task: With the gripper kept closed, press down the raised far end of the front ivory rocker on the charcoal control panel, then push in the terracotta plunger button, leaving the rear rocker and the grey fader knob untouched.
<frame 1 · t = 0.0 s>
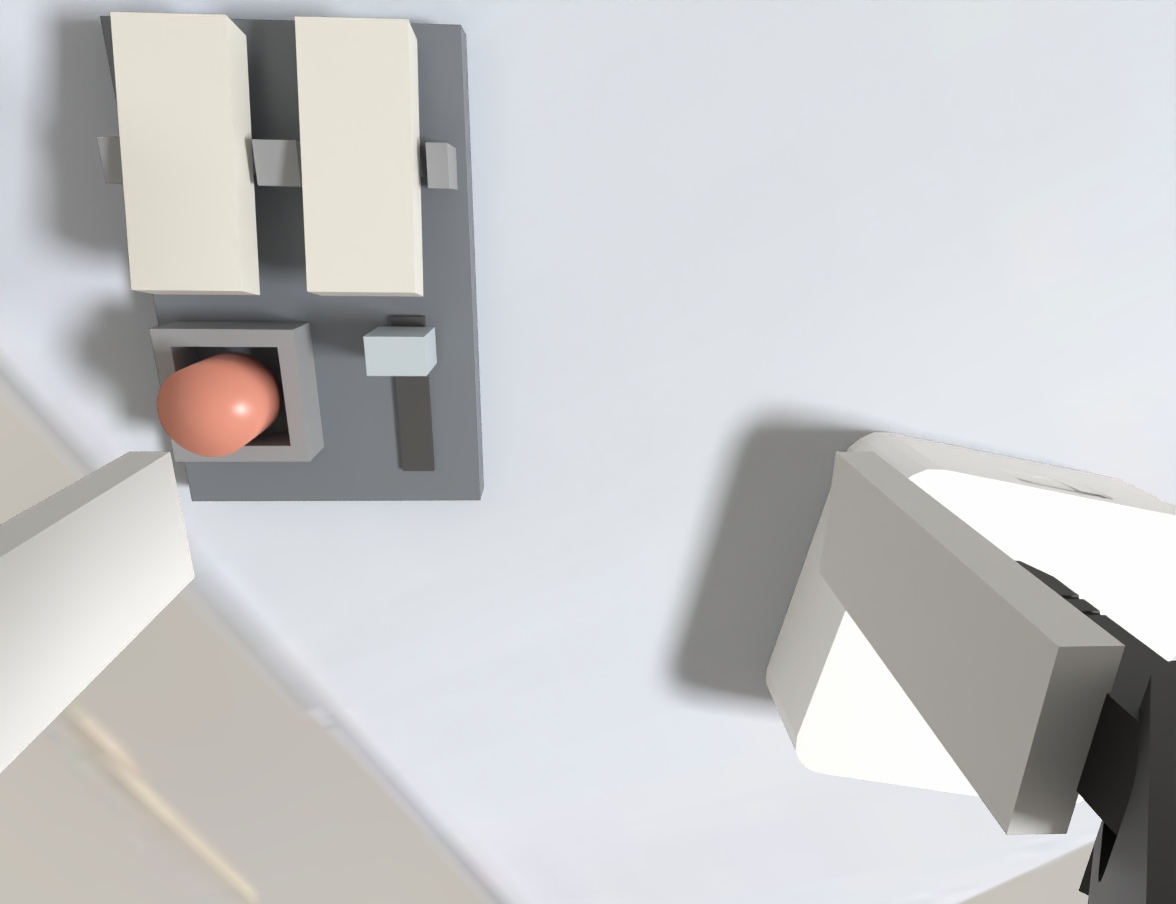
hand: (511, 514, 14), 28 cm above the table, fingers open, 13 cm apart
fader: (402, 350, 37), point 4 cm above the table, slide at 0.0 cm
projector: (944, 591, 48), on the table
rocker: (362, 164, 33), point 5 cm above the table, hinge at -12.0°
panel: (324, 283, 39), on the table
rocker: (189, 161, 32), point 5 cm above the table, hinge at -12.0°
button: (222, 403, 36), point 6 cm above the table, slide at 0.0 cm
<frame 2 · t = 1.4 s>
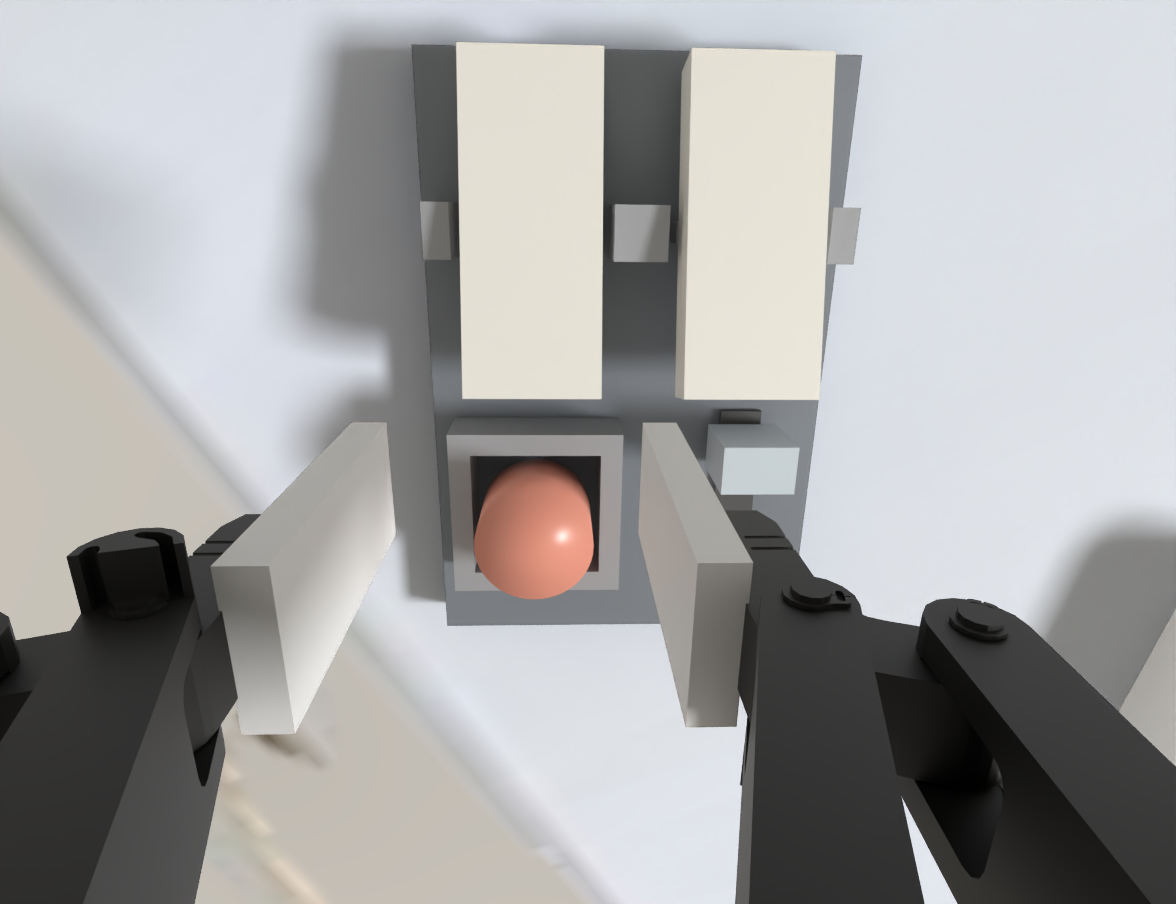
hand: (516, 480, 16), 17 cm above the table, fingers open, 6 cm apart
fader: (749, 457, 29), point 4 cm above the table, slide at 0.0 cm
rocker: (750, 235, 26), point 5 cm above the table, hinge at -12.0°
panel: (624, 366, 32), on the table
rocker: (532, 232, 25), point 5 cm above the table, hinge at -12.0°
button: (535, 527, 28), point 6 cm above the table, slide at 0.0 cm
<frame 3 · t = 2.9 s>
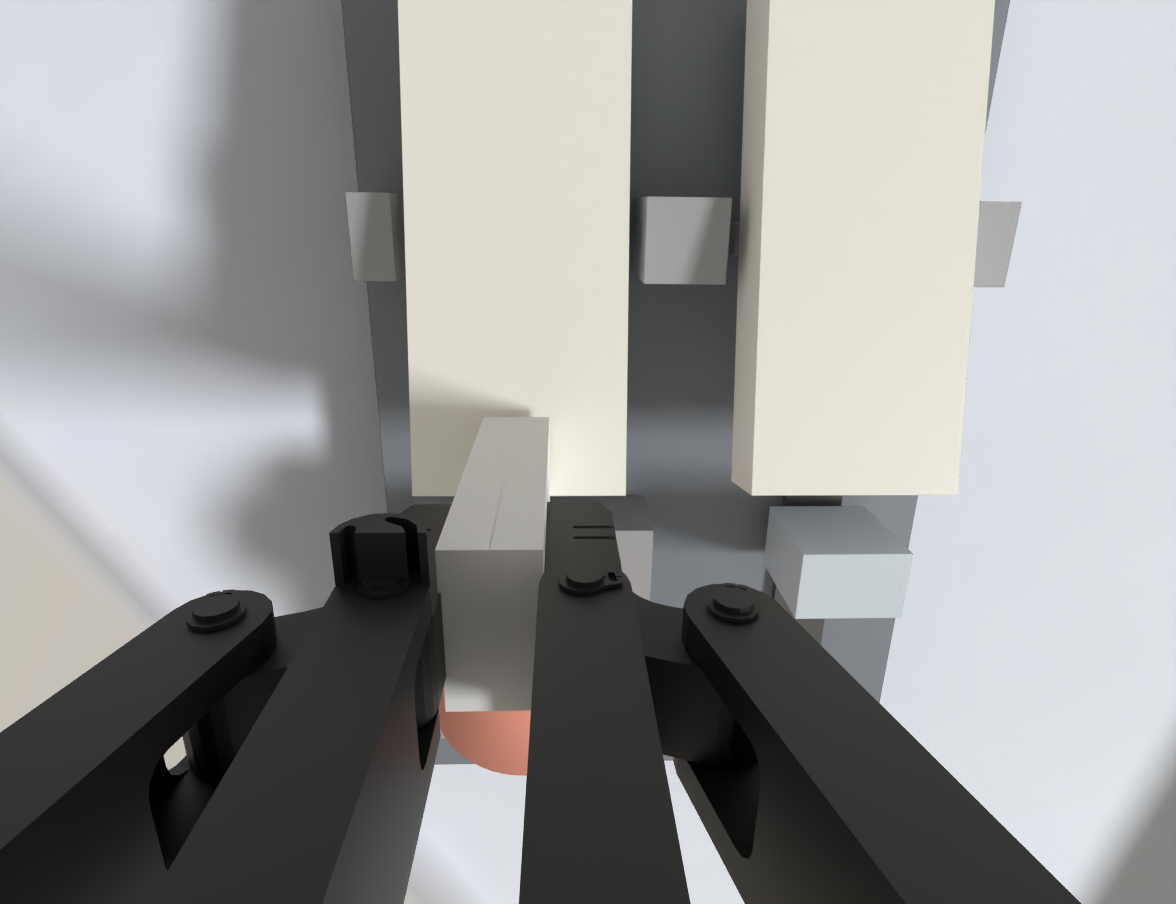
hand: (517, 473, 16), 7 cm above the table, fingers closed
fader: (831, 559, 21), point 4 cm above the table, slide at 0.0 cm
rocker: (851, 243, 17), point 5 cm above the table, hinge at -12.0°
panel: (650, 420, 23), on the table
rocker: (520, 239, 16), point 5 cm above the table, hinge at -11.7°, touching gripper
button: (526, 662, 20), point 6 cm above the table, slide at 0.0 cm
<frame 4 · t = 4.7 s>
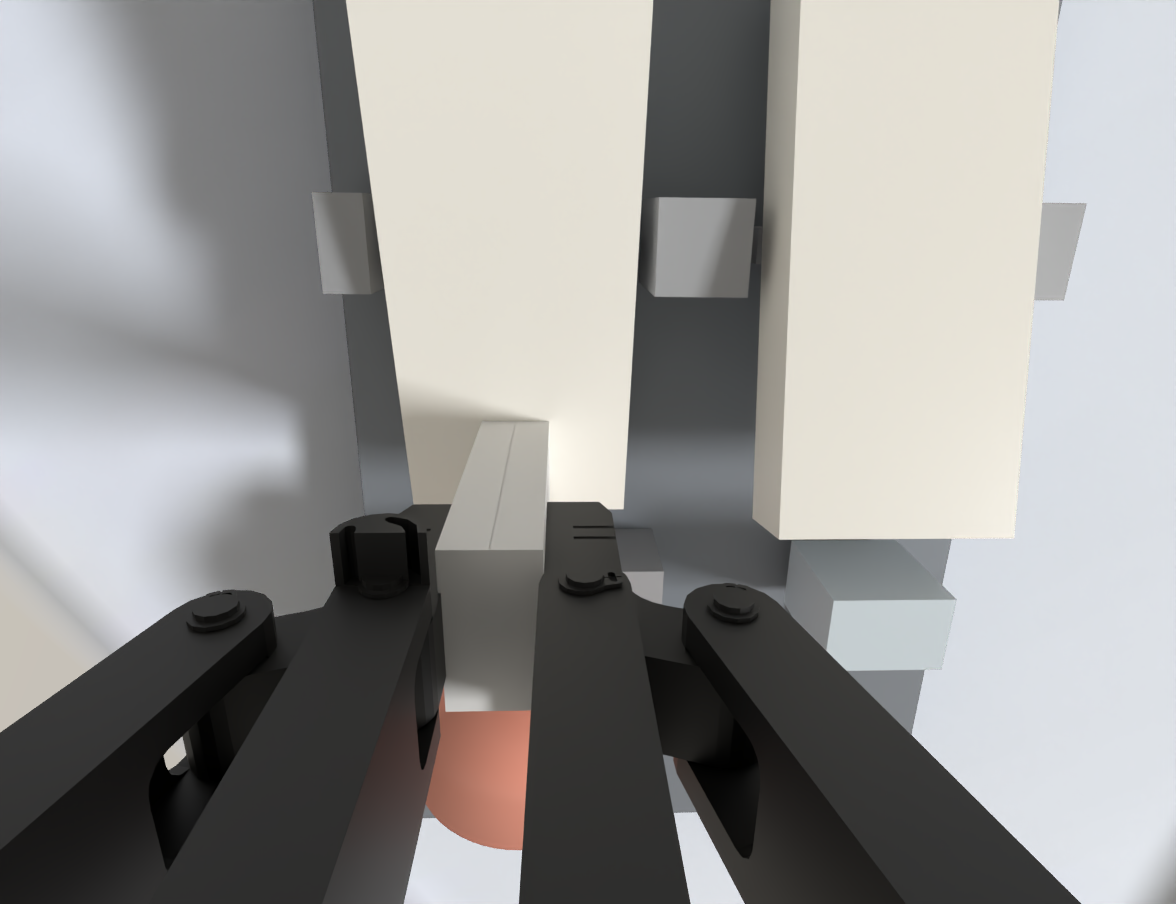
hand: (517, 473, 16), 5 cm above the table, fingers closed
fader: (861, 601, 18), point 4 cm above the table, slide at 0.0 cm
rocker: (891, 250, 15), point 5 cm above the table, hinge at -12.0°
panel: (658, 443, 21), on the table
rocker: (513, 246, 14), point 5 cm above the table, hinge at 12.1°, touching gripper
button: (521, 719, 18), point 6 cm above the table, slide at 0.0 cm
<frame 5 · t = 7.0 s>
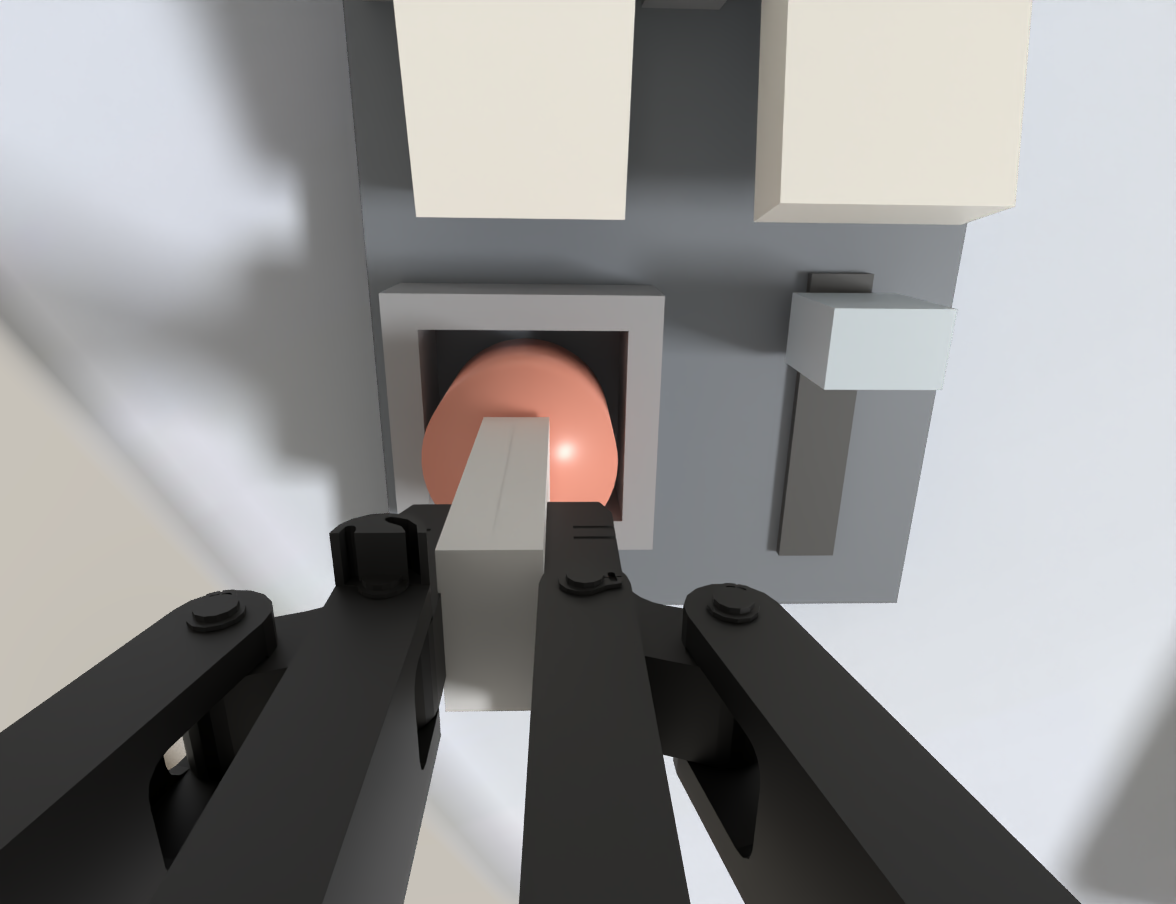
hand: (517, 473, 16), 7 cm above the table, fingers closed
fader: (862, 338, 19), point 4 cm above the table, slide at 0.0 cm
panel: (660, 214, 21), on the table
button: (524, 439, 18), point 5 cm above the table, slide at 0.4 cm, touching gripper
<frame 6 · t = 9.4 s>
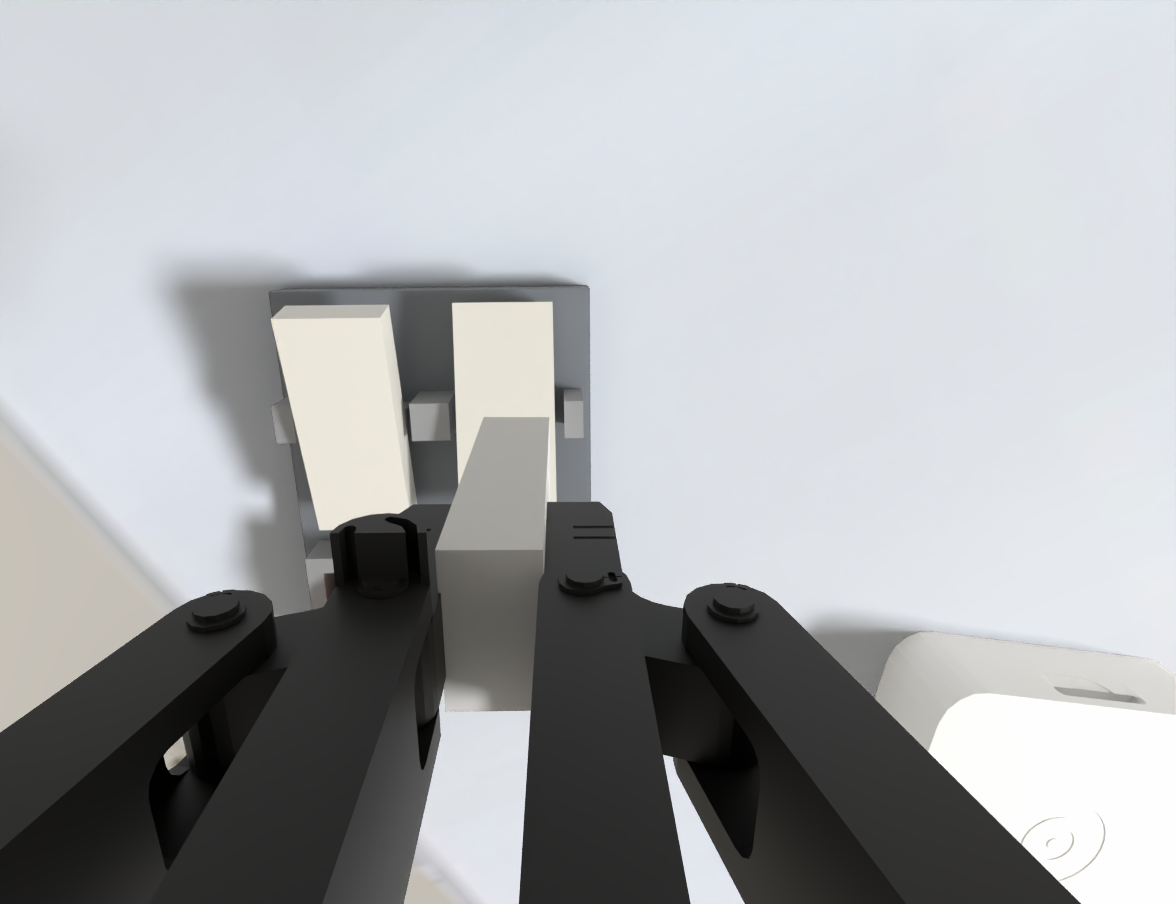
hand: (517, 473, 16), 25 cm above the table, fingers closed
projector: (990, 762, 51), on the table
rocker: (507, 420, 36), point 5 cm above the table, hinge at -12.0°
panel: (451, 495, 43), on the table
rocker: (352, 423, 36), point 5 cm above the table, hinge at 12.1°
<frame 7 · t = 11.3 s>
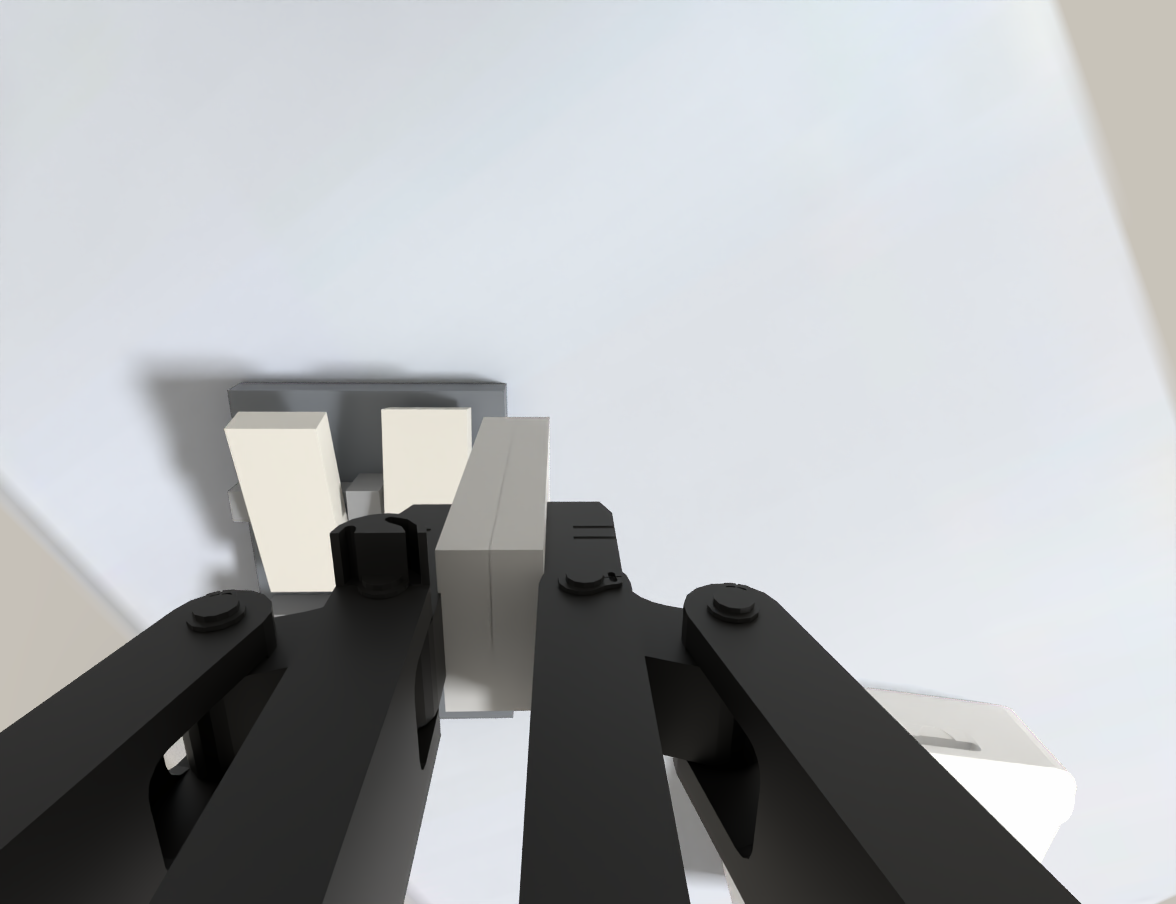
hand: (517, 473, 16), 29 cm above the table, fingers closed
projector: (865, 789, 59), on the table
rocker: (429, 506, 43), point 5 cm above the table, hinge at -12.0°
panel: (390, 555, 49), on the table
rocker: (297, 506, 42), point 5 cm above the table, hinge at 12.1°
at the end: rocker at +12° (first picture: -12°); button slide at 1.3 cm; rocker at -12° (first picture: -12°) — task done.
